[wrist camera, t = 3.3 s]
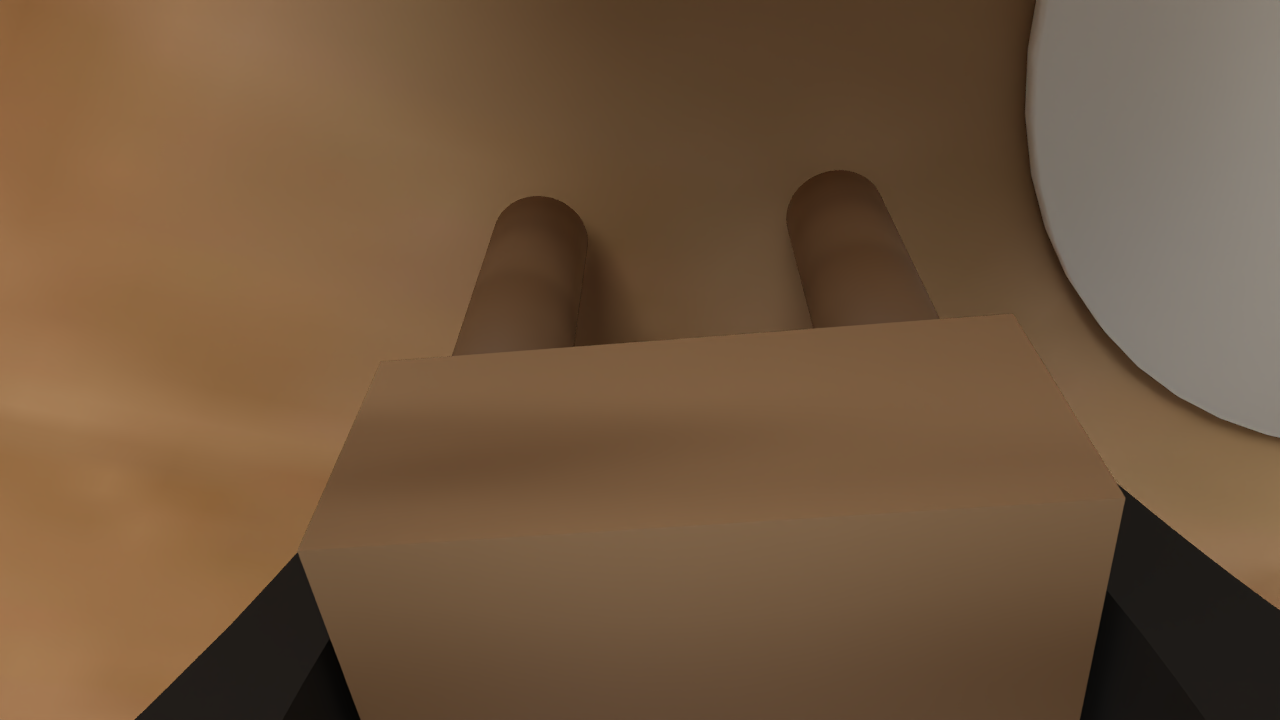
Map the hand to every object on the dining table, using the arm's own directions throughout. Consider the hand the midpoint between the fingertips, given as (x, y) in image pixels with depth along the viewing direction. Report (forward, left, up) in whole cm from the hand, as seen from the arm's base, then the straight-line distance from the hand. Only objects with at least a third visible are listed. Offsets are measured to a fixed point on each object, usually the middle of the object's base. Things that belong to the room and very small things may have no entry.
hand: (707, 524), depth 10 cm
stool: (0, 0, -3) cm, 3 cm away
